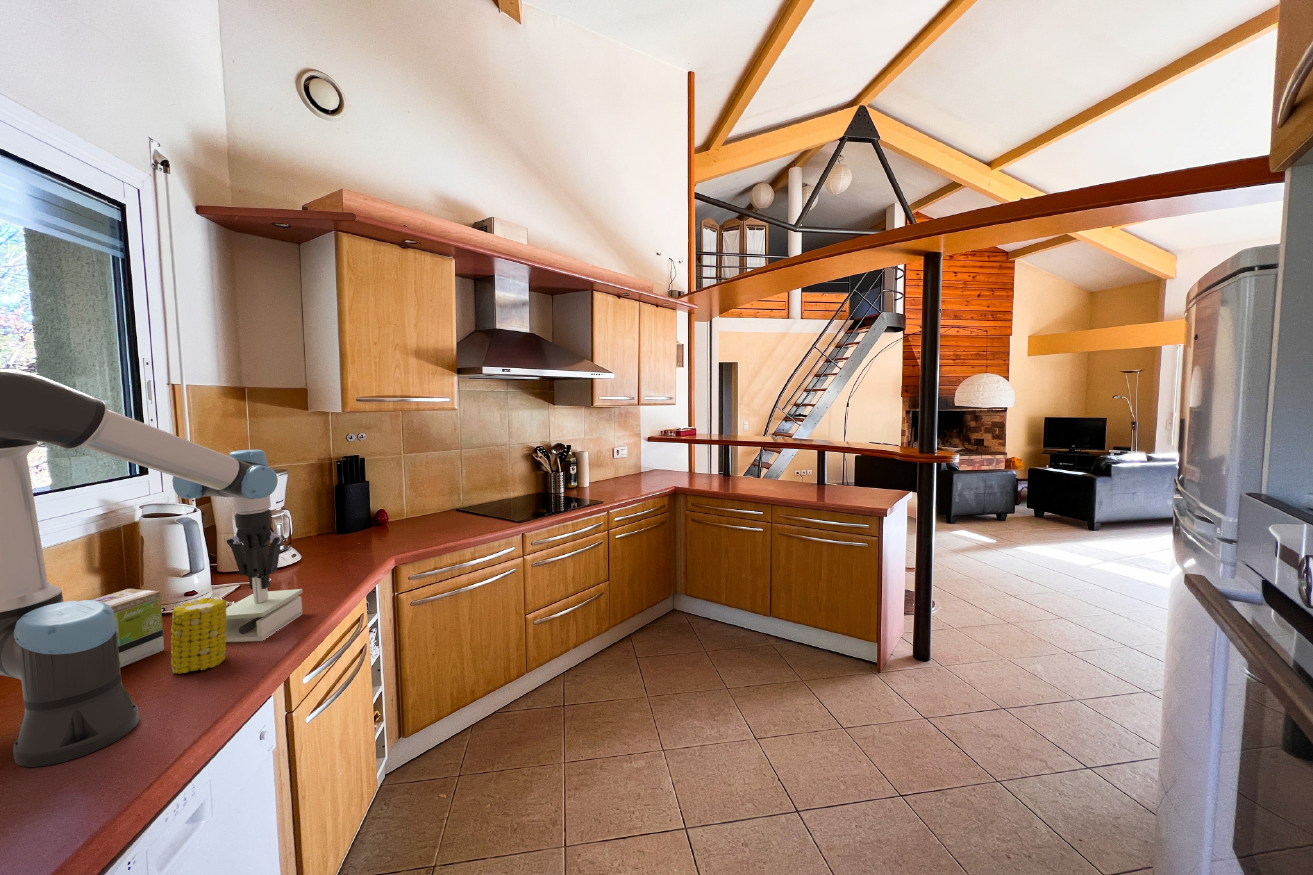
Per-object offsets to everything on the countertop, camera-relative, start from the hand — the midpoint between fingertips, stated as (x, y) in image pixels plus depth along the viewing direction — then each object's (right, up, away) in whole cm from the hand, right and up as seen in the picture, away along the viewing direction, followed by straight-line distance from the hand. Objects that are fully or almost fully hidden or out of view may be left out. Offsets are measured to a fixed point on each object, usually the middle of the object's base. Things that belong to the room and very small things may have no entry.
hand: (261, 600), depth 141 cm
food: (0, -9, -18) cm, 21 cm away
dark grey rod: (-1, -6, +1) cm, 6 cm away
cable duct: (-1, -7, 0) cm, 7 cm away
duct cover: (0, -1, 0) cm, 1 cm away
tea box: (-21, -9, -17) cm, 29 cm away
